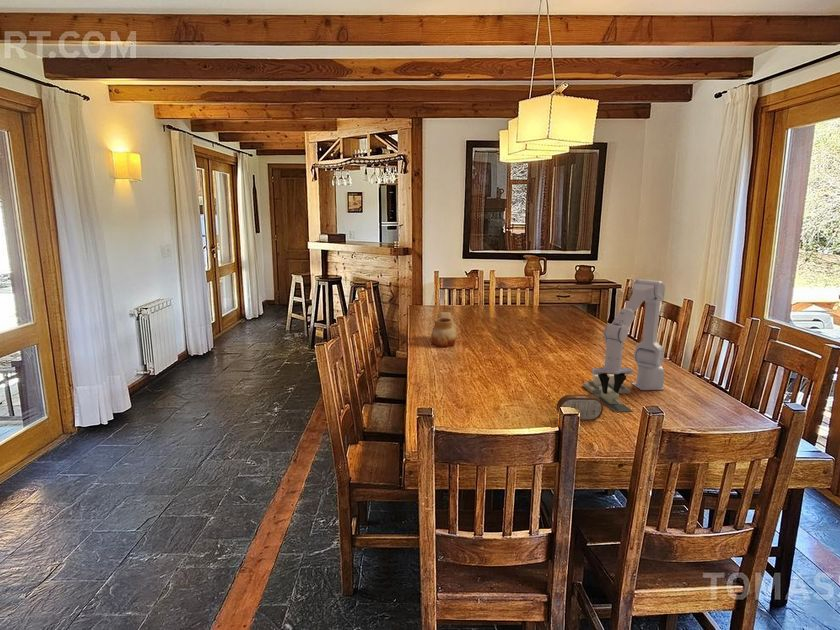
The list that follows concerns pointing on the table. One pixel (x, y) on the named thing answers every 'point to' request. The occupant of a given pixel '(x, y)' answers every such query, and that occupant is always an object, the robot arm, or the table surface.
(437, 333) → the ceramic vessel
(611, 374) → the tab
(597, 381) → the tab
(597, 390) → the switch panel
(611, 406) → the tool mat
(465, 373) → the table surface
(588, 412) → the tin
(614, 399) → the driver
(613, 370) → the robot arm
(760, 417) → the table surface
